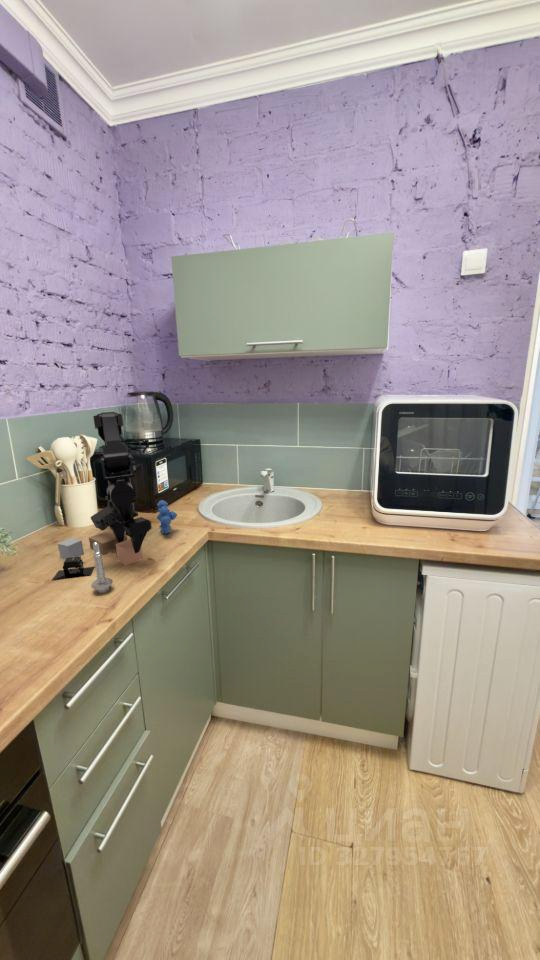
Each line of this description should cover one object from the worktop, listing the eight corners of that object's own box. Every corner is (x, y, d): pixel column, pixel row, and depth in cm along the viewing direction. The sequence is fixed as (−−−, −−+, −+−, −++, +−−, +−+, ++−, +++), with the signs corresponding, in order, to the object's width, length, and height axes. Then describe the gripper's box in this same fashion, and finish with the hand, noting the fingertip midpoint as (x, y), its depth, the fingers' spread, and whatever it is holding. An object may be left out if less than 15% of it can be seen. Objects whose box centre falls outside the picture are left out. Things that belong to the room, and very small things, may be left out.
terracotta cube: (134, 554, 117) (131, 538, 116) (142, 559, 114) (140, 542, 113) (117, 560, 114) (115, 544, 112) (126, 565, 110) (124, 548, 109)
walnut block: (114, 540, 128) (113, 529, 127) (128, 546, 123) (126, 534, 122) (90, 549, 122) (88, 537, 121) (103, 556, 117) (101, 543, 116)
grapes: (181, 537, 128) (178, 502, 124) (160, 541, 125) (155, 505, 122) (176, 525, 138) (173, 492, 135) (156, 528, 136) (152, 495, 133)
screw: (112, 594, 96) (90, 597, 95) (114, 584, 100) (94, 587, 99) (104, 544, 92) (82, 547, 91) (107, 536, 97) (86, 539, 96)
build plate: (101, 566, 111) (99, 551, 110) (96, 579, 105) (93, 563, 103) (54, 571, 109) (51, 556, 108) (45, 584, 102) (42, 568, 101)
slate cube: (74, 551, 120) (71, 537, 119) (83, 554, 118) (81, 540, 117) (60, 557, 117) (57, 543, 116) (70, 560, 115) (67, 546, 113)
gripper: (77, 496, 110) (86, 548, 114) (108, 510, 97) (117, 568, 101) (116, 487, 117) (123, 536, 121) (149, 499, 105) (155, 553, 109)
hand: (128, 548), depth 113 cm, fingers open, 9 cm apart
